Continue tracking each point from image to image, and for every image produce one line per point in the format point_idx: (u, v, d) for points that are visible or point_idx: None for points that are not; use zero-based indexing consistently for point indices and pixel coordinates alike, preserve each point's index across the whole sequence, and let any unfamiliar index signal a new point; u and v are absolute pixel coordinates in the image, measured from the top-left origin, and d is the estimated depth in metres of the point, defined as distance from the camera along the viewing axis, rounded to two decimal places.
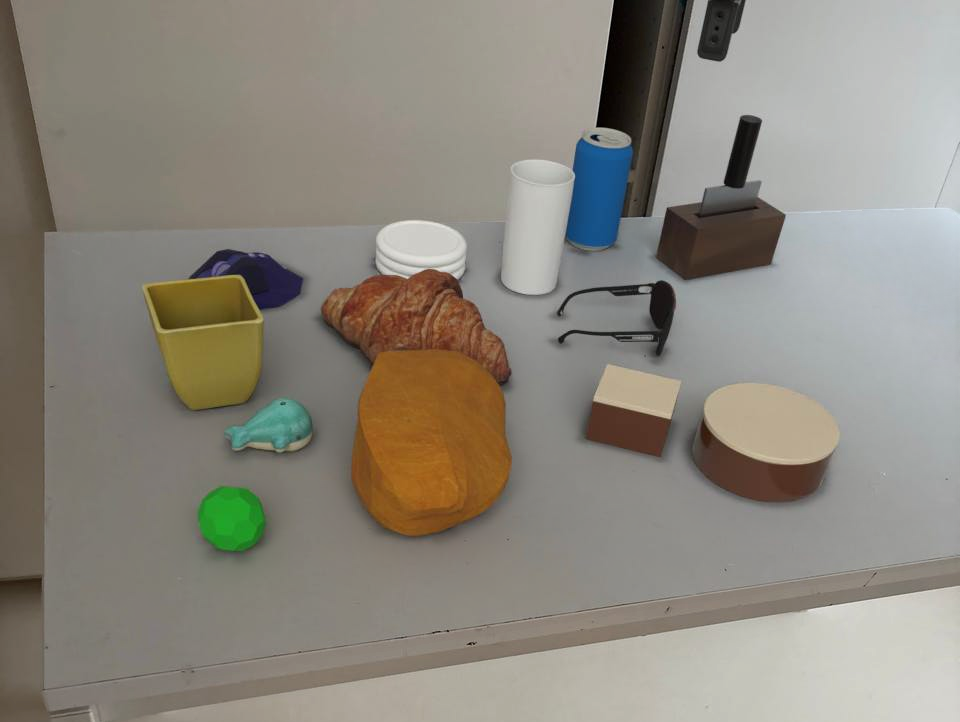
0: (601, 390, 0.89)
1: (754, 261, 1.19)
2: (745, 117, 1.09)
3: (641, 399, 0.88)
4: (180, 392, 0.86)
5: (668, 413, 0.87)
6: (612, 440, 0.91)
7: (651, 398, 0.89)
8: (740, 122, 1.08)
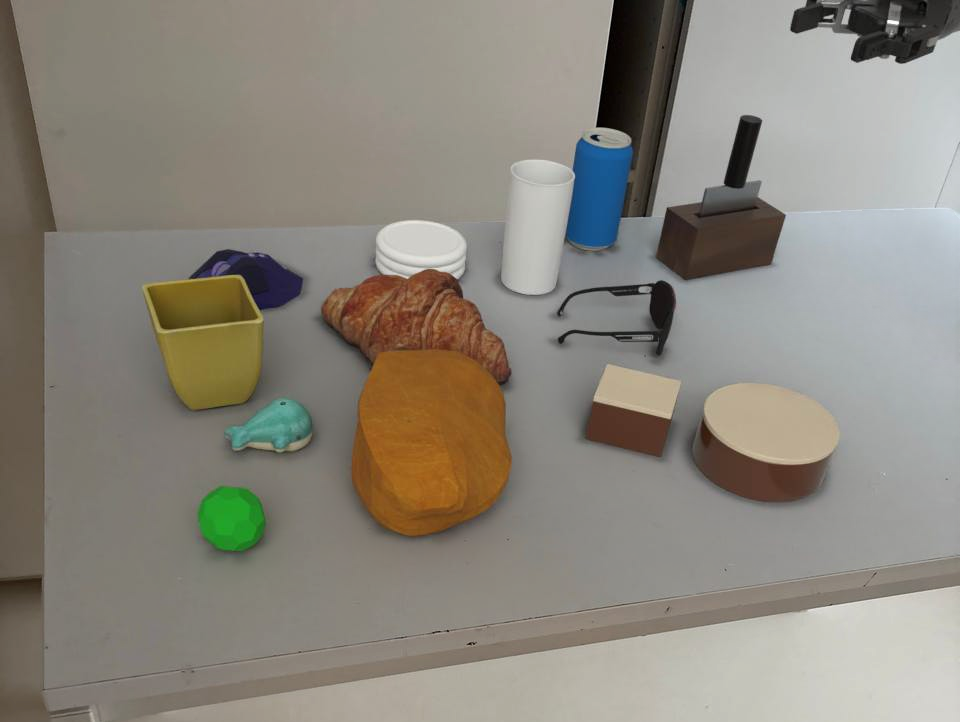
0: (601, 390, 0.89)
1: (754, 261, 1.19)
2: (745, 117, 1.09)
3: (641, 399, 0.88)
4: (180, 392, 0.86)
5: (668, 413, 0.87)
6: (612, 440, 0.91)
7: (651, 398, 0.89)
8: (740, 122, 1.08)
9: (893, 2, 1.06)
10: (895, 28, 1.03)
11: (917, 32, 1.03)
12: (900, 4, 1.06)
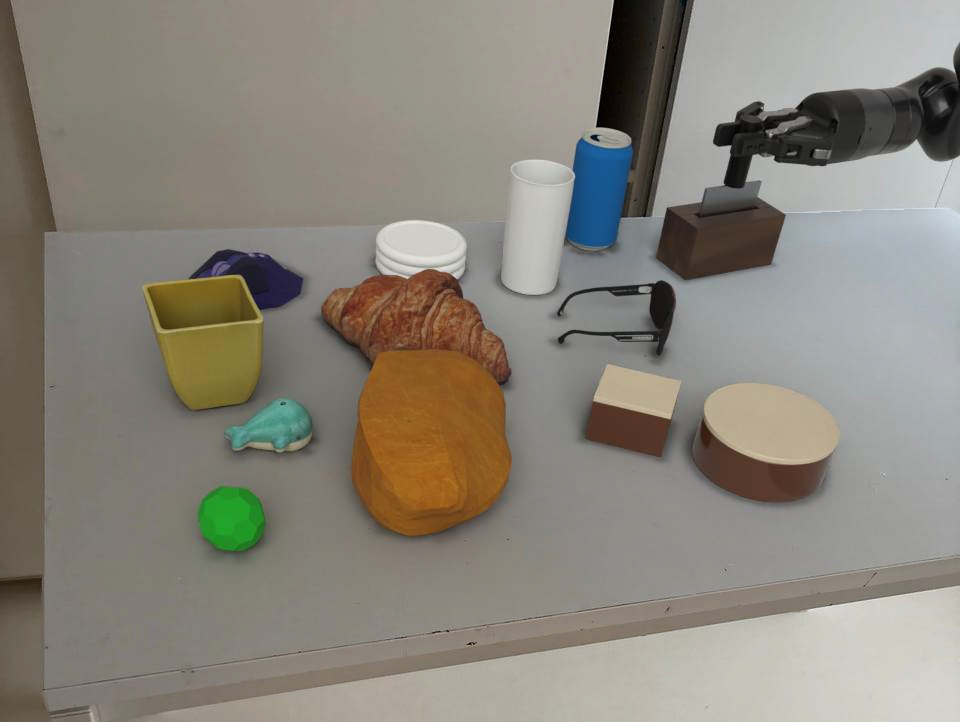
0: (601, 390, 0.89)
1: (754, 261, 1.19)
2: (745, 117, 1.09)
3: (641, 399, 0.88)
4: (180, 392, 0.86)
5: (668, 413, 0.87)
6: (612, 440, 0.91)
7: (651, 398, 0.89)
8: (740, 122, 1.08)
9: (806, 116, 1.11)
10: (777, 132, 1.09)
11: (799, 138, 1.08)
12: (809, 119, 1.10)
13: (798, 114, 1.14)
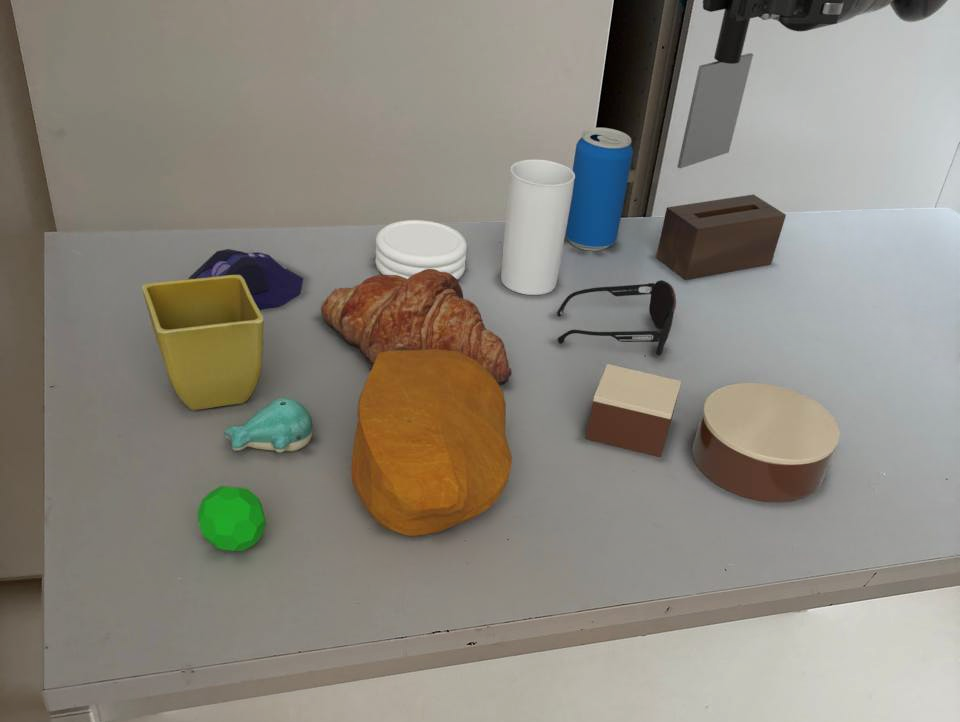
0: (601, 390, 0.89)
1: (754, 261, 1.19)
2: None
3: (641, 399, 0.88)
4: (180, 392, 0.86)
5: (668, 413, 0.87)
6: (612, 440, 0.91)
7: (651, 398, 0.89)
8: None
9: None
10: None
11: None
12: None
13: None
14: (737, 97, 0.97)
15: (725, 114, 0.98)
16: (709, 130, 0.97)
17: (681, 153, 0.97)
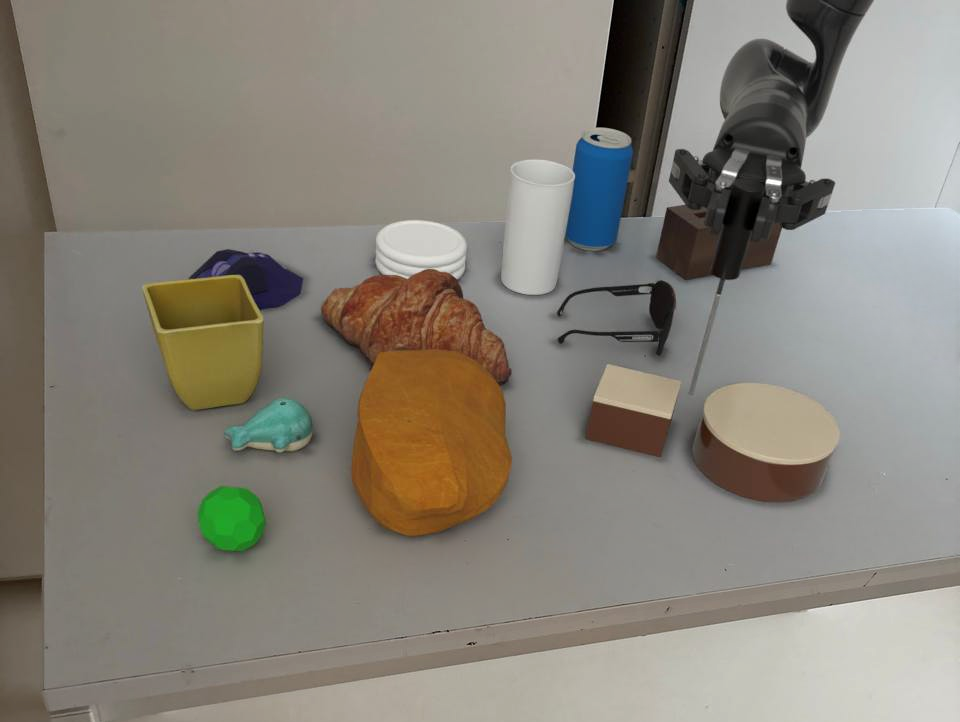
0: (601, 390, 0.89)
1: (754, 261, 1.19)
2: (742, 185, 0.75)
3: (641, 399, 0.88)
4: (180, 392, 0.86)
5: (668, 413, 0.87)
6: (612, 440, 0.91)
7: (651, 398, 0.89)
8: (742, 194, 0.75)
9: (770, 155, 0.80)
10: (777, 190, 0.77)
11: (806, 190, 0.78)
12: (778, 158, 0.80)
13: None
14: None
15: None
16: None
17: (694, 380, 0.83)
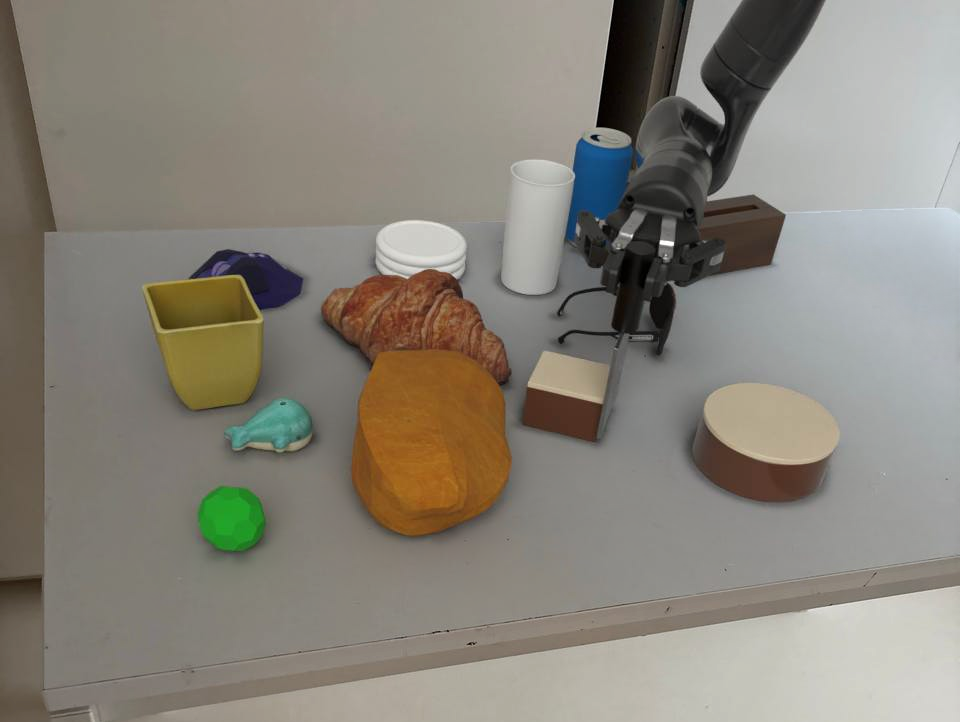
0: (536, 376, 0.90)
1: (754, 261, 1.19)
2: (634, 248, 0.81)
3: (575, 385, 0.89)
4: (180, 392, 0.86)
5: (601, 398, 0.88)
6: (548, 425, 0.91)
7: (585, 384, 0.89)
8: (634, 257, 0.81)
9: (665, 217, 0.86)
10: (669, 251, 0.83)
11: (697, 251, 0.83)
12: (673, 219, 0.86)
13: None
14: (625, 349, 0.91)
15: (619, 369, 0.91)
16: (613, 392, 0.90)
17: (600, 426, 0.89)
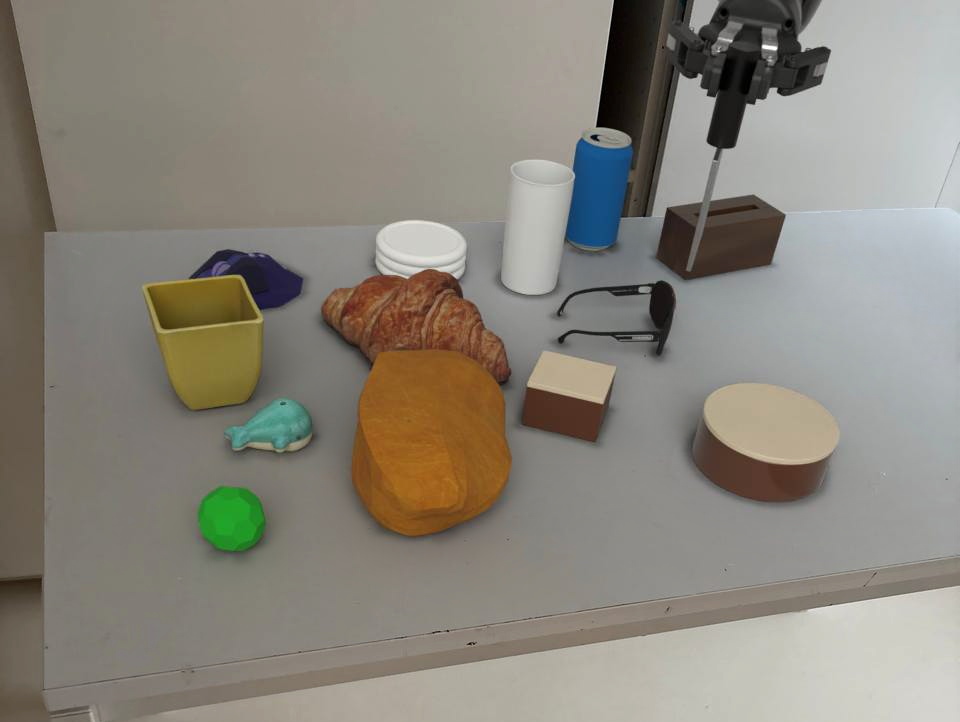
0: (535, 376, 0.90)
1: (754, 261, 1.19)
2: (738, 46, 0.75)
3: (575, 385, 0.89)
4: (180, 392, 0.86)
5: (600, 398, 0.88)
6: (548, 425, 0.91)
7: (585, 383, 0.89)
8: (738, 55, 0.75)
9: (765, 25, 0.80)
10: (773, 54, 0.77)
11: (802, 55, 0.78)
12: (774, 27, 0.80)
13: None
14: None
15: (710, 199, 0.85)
16: (704, 221, 0.84)
17: (691, 255, 0.83)
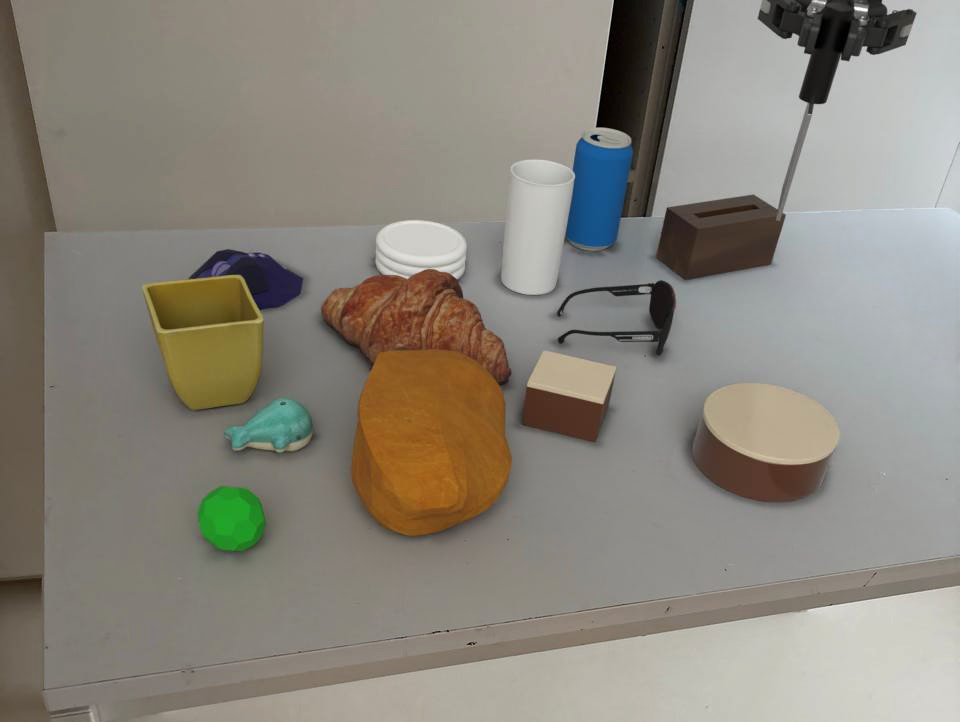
0: (535, 376, 0.90)
1: (754, 261, 1.19)
2: (834, 6, 0.81)
3: (575, 385, 0.89)
4: (180, 392, 0.86)
5: (600, 398, 0.88)
6: (548, 425, 0.91)
7: (585, 383, 0.89)
8: (834, 14, 0.81)
9: None
10: (864, 15, 0.83)
11: (891, 16, 0.84)
12: None
13: None
14: None
15: None
16: None
17: (781, 205, 0.89)
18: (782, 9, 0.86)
